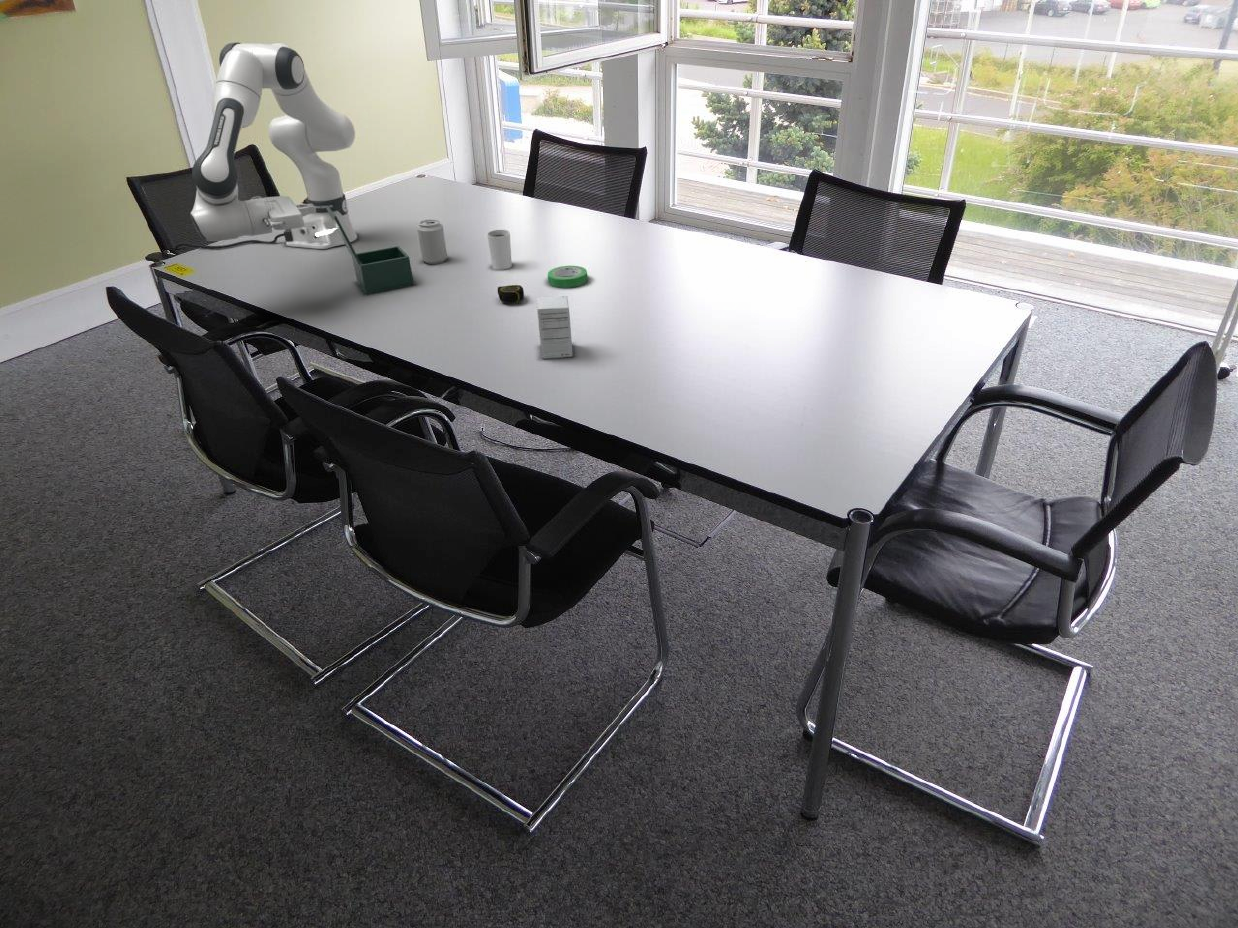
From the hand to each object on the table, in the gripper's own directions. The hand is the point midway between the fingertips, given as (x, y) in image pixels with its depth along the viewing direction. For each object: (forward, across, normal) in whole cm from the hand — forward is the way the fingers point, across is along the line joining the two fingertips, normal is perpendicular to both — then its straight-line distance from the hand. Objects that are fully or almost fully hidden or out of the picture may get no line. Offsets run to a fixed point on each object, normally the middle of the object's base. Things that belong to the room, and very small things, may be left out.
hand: (314, 208), depth 231 cm
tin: (+15, 0, +24) cm, 28 cm away
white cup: (+48, -5, +24) cm, 54 cm away
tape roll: (+60, -26, +24) cm, 70 cm away
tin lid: (+6, 0, +8) cm, 10 cm away
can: (+33, +11, +24) cm, 42 cm away
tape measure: (+41, -31, +24) cm, 57 cm away
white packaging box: (+39, -67, +25) cm, 82 cm away
